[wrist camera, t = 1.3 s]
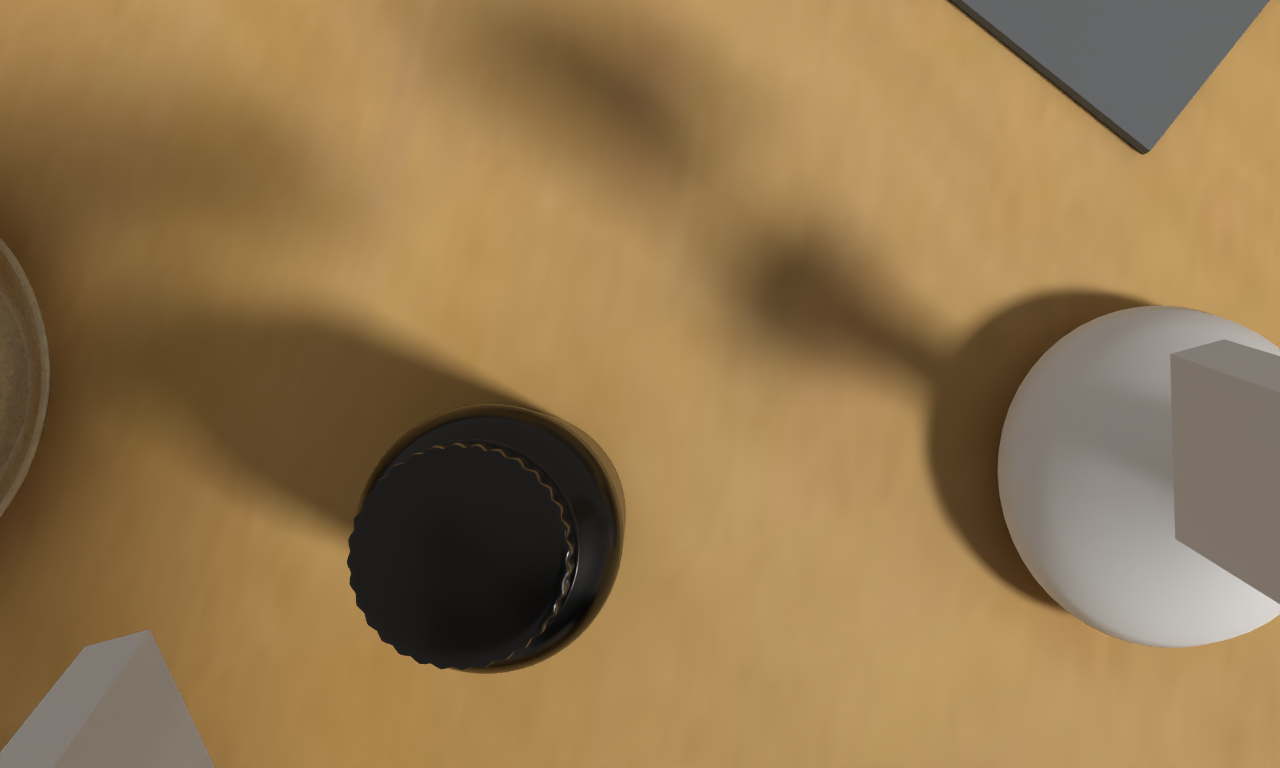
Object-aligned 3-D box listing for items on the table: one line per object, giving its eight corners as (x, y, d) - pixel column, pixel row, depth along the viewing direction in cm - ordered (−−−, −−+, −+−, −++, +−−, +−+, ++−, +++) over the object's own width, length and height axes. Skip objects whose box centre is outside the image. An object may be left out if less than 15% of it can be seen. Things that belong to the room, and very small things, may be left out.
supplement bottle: (554, 374, 30) (511, 330, 19) (663, 537, 30) (691, 600, 18) (388, 484, 30) (235, 512, 18) (496, 651, 30) (414, 790, 18)
